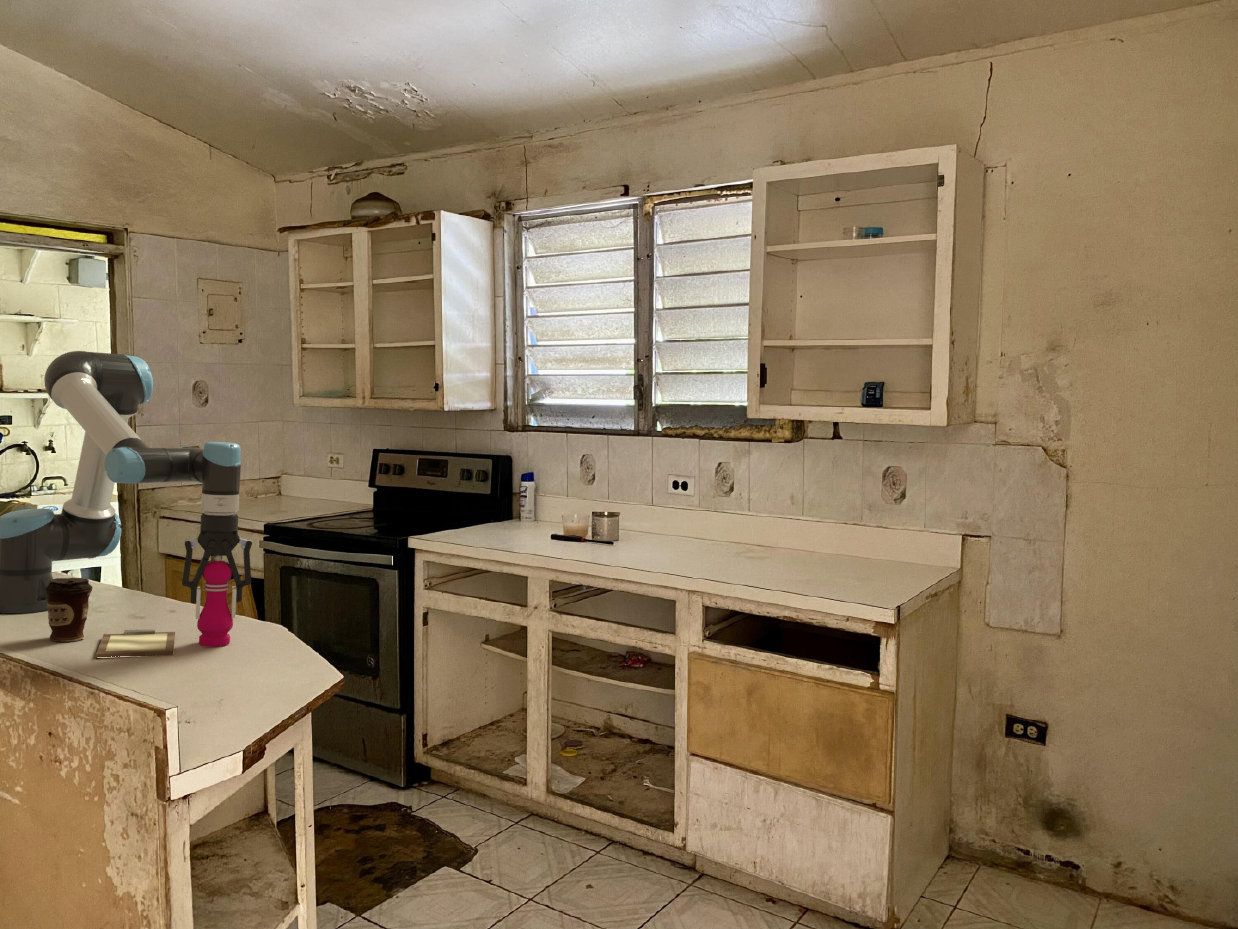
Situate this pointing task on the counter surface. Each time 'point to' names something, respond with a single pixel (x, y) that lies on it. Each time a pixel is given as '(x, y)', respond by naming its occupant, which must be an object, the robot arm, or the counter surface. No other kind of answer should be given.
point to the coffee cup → (68, 607)
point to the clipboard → (137, 643)
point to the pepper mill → (215, 605)
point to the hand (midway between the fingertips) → (215, 616)
